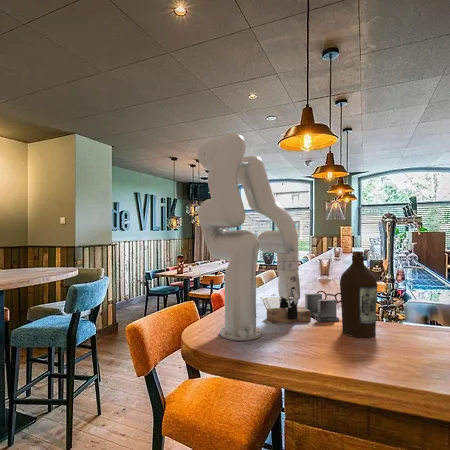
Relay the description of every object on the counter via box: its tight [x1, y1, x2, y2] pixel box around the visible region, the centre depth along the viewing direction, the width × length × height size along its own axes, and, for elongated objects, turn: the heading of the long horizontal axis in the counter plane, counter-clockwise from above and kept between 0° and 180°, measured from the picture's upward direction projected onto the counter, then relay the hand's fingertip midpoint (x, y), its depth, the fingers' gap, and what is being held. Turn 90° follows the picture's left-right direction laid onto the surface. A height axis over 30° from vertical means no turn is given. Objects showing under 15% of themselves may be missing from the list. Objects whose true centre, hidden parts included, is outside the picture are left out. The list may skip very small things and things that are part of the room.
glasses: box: [315, 290, 341, 305], centre depth 139 cm, size 13×13×5 cm
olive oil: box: [339, 250, 378, 339], centre depth 99 cm, size 11×11×25 cm
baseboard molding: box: [259, 293, 288, 310], centre depth 134 cm, size 31×3×12 cm
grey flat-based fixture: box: [304, 292, 340, 323], centre depth 119 cm, size 15×7×7 cm, turn 9°
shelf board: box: [266, 306, 312, 324], centre depth 114 cm, size 14×6×4 cm, turn 99°
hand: (288, 315), depth 114 cm, fingers open, 7 cm apart
